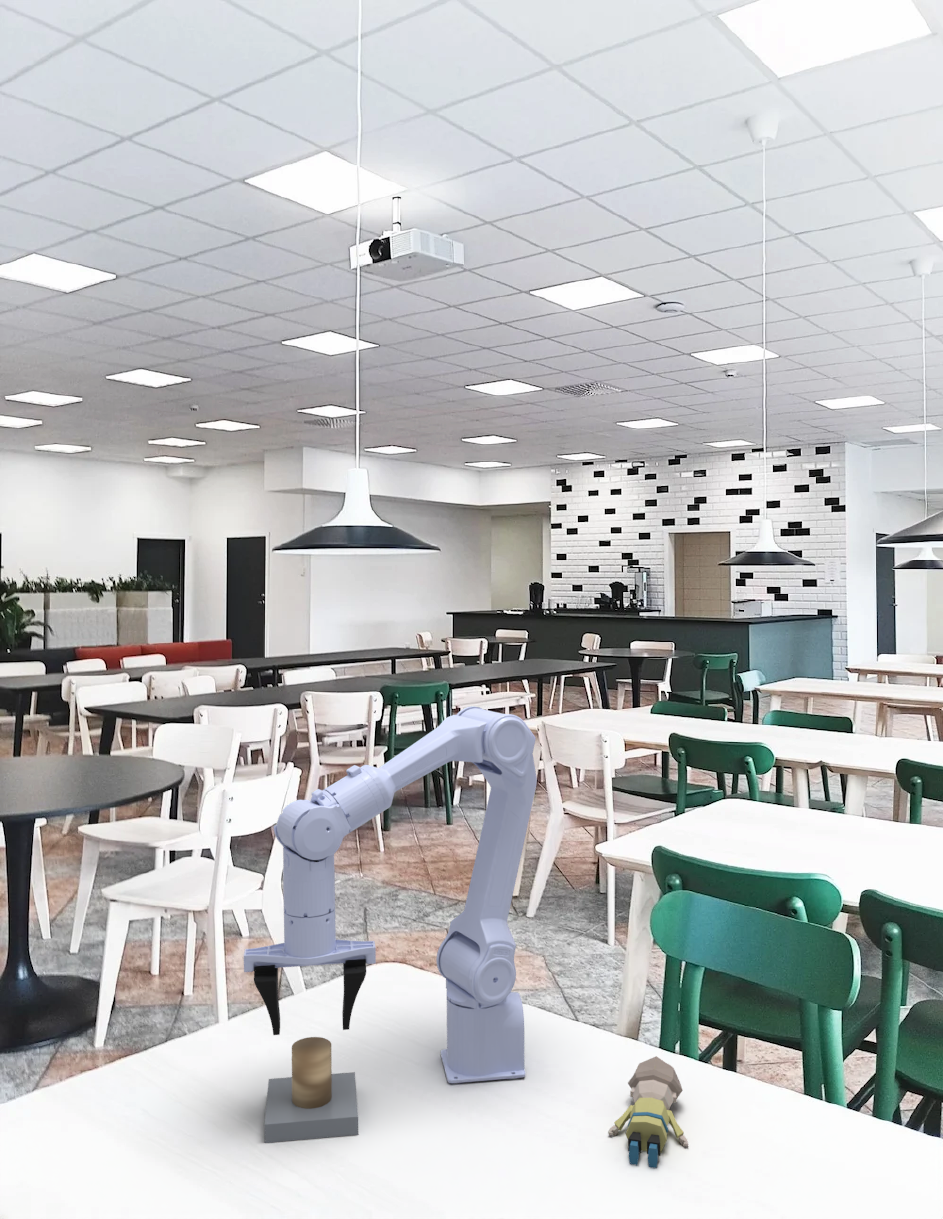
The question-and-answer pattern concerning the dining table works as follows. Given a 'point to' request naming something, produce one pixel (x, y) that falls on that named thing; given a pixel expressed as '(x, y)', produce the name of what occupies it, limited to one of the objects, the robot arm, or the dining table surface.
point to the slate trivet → (311, 1112)
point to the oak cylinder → (311, 1072)
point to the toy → (650, 1110)
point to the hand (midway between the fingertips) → (311, 1028)
